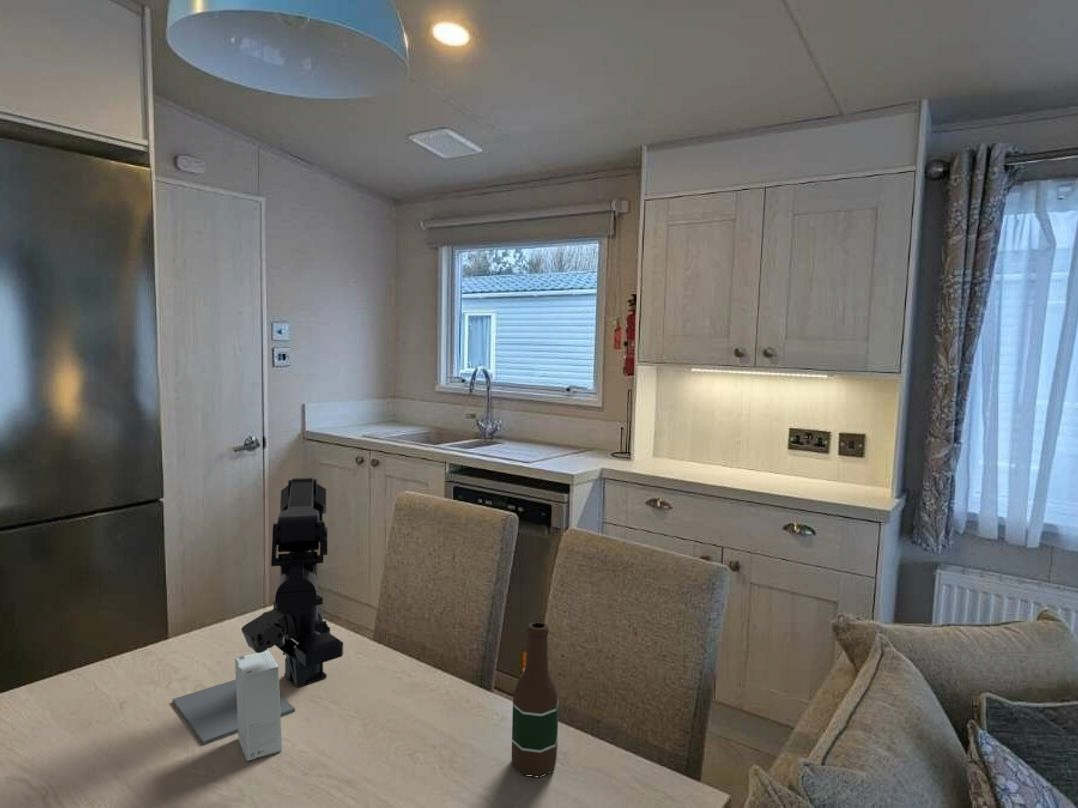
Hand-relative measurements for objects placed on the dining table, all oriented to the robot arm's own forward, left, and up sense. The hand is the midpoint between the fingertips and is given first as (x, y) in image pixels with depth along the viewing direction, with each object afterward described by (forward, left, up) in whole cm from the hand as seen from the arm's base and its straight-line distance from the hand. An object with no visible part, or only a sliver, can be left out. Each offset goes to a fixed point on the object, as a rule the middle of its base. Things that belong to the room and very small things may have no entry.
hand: (299, 685), depth 109 cm
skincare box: (+3, -9, -14) cm, 17 cm away
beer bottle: (-29, +26, -14) cm, 41 cm away
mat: (+2, -24, -13) cm, 28 cm away
